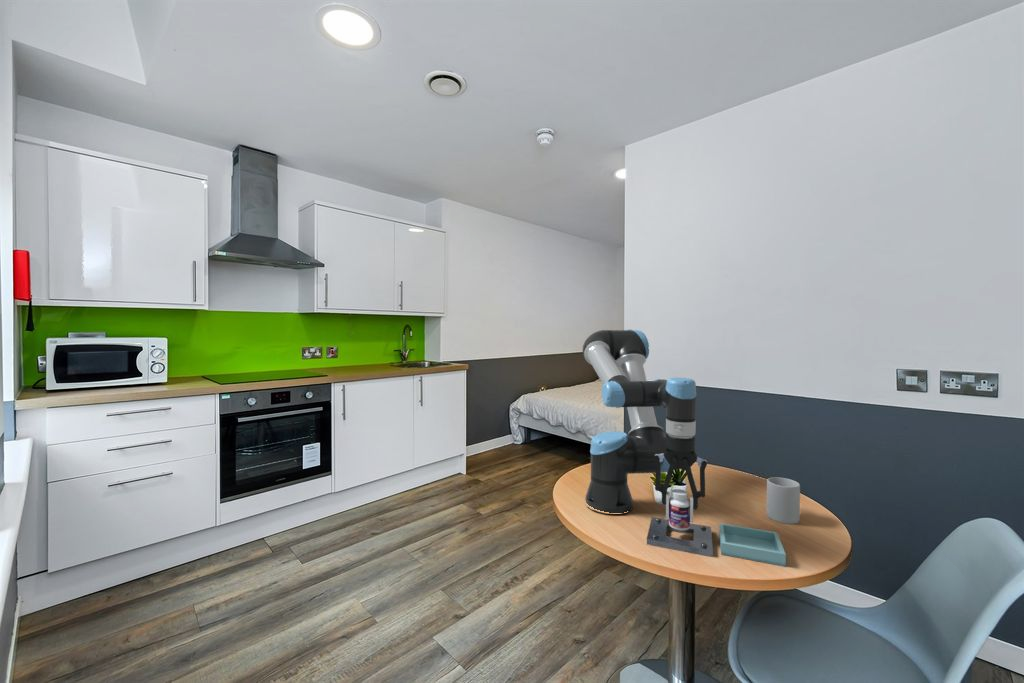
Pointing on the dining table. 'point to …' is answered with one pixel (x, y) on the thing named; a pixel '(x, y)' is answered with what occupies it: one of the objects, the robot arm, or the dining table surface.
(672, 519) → the pill bottle
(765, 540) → the tray
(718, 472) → the dining table surface
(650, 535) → the plate
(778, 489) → the mug
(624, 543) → the dining table surface
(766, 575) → the dining table surface
